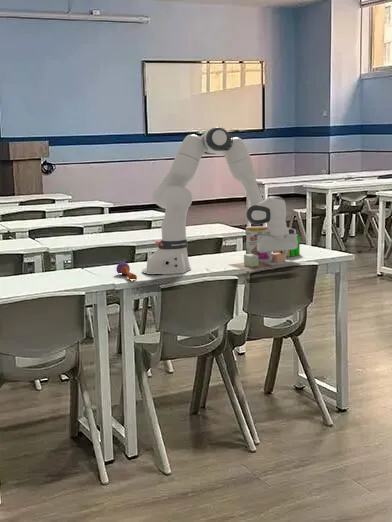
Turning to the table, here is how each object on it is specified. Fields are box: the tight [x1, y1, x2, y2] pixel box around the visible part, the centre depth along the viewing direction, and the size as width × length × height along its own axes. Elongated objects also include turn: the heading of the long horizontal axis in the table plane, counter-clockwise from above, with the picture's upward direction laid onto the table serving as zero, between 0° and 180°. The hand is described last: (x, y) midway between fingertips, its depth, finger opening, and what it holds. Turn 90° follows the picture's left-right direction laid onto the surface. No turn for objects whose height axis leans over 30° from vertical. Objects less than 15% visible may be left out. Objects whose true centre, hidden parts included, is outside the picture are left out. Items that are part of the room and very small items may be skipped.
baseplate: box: [229, 260, 274, 271], centre depth 323 cm, size 16×16×1 cm
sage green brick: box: [243, 253, 259, 267], centre depth 323 cm, size 4×6×5 cm, turn 24°
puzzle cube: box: [272, 234, 301, 258], centre depth 354 cm, size 10×10×10 cm
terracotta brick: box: [271, 252, 286, 264], centre depth 331 cm, size 4×6×5 cm, turn 24°
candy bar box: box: [245, 225, 269, 260], centre depth 341 cm, size 11×5×16 cm, turn 84°
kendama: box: [115, 261, 138, 280], centre depth 313 cm, size 6×6×20 cm
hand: (277, 260), depth 331 cm, fingers open, 5 cm apart
